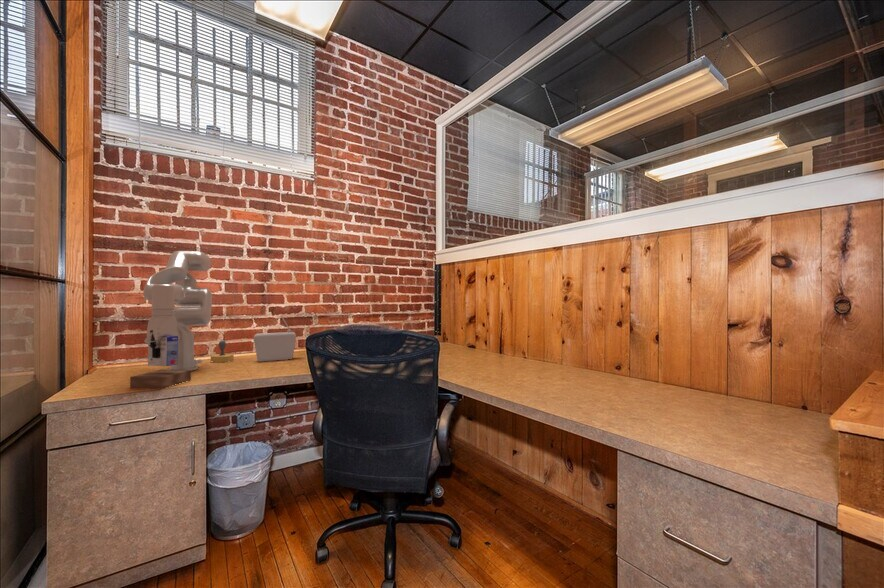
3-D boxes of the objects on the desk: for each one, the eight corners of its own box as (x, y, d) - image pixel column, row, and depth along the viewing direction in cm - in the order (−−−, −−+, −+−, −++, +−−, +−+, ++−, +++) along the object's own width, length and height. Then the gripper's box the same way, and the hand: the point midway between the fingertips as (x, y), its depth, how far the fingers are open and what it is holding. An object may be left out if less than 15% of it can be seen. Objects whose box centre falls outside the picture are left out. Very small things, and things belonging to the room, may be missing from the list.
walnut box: (161, 380, 155) (161, 369, 155) (190, 381, 154) (190, 370, 154) (130, 389, 141) (130, 376, 141) (161, 390, 140) (161, 377, 140)
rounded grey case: (295, 357, 212) (295, 315, 212) (296, 359, 204) (296, 316, 204) (254, 360, 202) (254, 316, 202) (253, 362, 194) (253, 317, 195)
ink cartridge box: (179, 364, 150) (179, 330, 150) (166, 366, 144) (166, 331, 144) (160, 363, 151) (159, 329, 151) (147, 366, 146) (146, 331, 146)
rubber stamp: (233, 360, 201) (233, 339, 201) (227, 362, 196) (227, 341, 196) (217, 360, 202) (217, 339, 202) (210, 362, 196) (210, 341, 196)
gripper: (174, 312, 157) (174, 353, 157) (134, 314, 140) (134, 360, 140) (188, 312, 156) (189, 353, 156) (150, 314, 139) (150, 360, 139)
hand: (163, 356), depth 148 cm, fingers closed on ink cartridge box, 5 cm apart
